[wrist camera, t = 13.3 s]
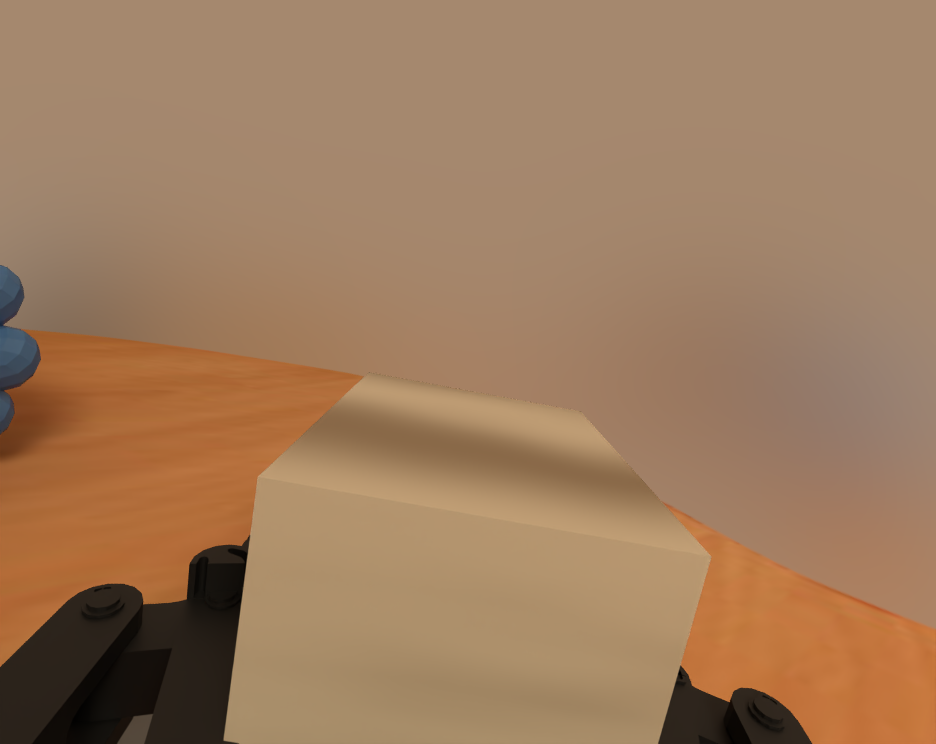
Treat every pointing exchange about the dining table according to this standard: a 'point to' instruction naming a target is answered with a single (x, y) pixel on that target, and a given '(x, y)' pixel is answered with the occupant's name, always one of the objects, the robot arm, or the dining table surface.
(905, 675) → the dining table surface
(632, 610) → the block
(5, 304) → the grapes
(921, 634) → the dining table surface
